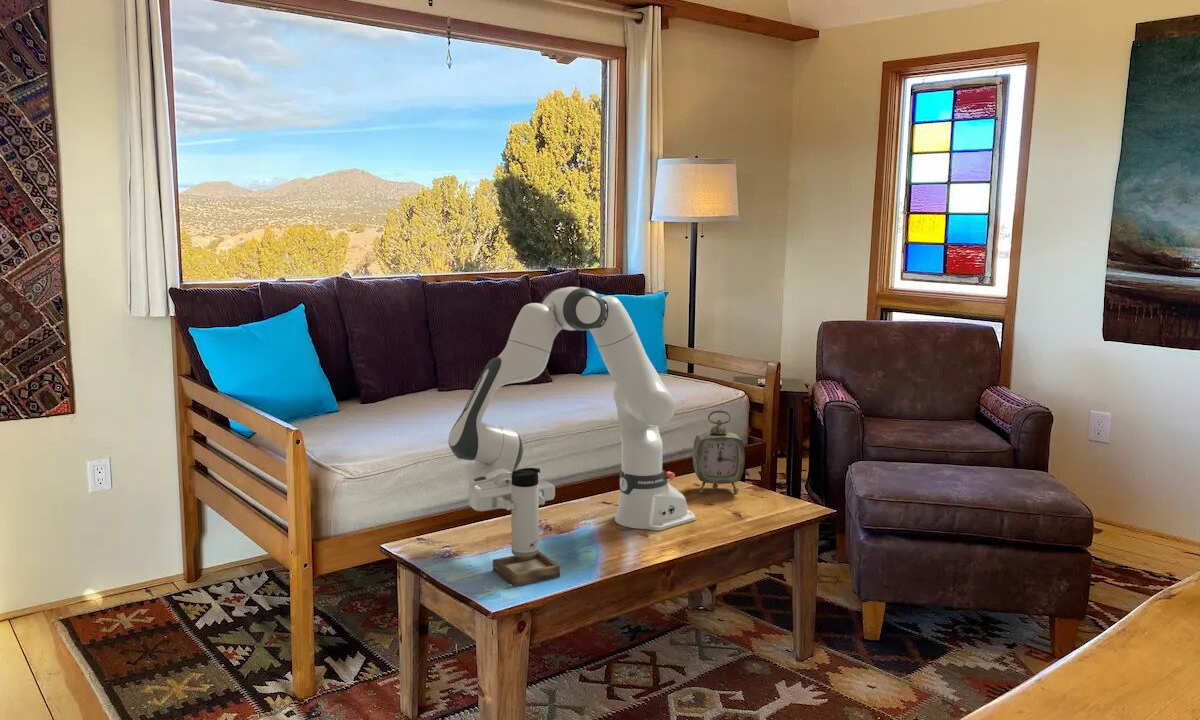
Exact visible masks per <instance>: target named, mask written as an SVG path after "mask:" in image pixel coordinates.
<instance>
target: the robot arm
mask: <svg viewBox="0 0 1200 720" xmlns="http://www.w3.org/2000/svg"><path fill="white" fill-rule="evenodd" d="M562 330H565V331H581V332H583V331H589V332H590V333H591V335H592V337H593V339H594V342H595V345H596V347H597V348H598V349H597V350H598V352H599V355H600V356H601V358H602V361H603V363H604V365H605V367H606V370H607V371H608V373H609V374H610V376H611V377H612V379H613V380H614V382H615V383H616V385H615V386H614V389H613V394H612V396H613V400H614V402H615V406H616V411H617V418H618V424H619V426H618V427H619V430H620V431H619V432H620V438H621V469H620V470H619V491H620V492H619V499H618V506H617V509H616V512H615V513H616V514H615V516H614V522H616V524H618V525H621V526H622V527H627V528H630V529H631V528H632V529H640V530H641V529H643V530H651V531H658V532H659V531H663V530H667V529H669V528H673V527H675V526H680V525H683V524H686V523H690V522H693V521H695V520H696V515H695V513H694V512H693V511H692V510H689V509H688V503H687V499H686V497H685V496H684V494H683V493H681V491H679V490H678V489H676V488H675V487H674V486H673V485H671V484H670V483H669V482H668V480H670V481H673V480H674V479H675V478H676V475H675V473H674V472H671V471H666V470H664V469H663V453H664V451H663V449H664V445H663V438H662V436H661V435H660V431H659V426H664V425H666V424H668V423H669V422H670V421H671V419H673V416H674V415H675V412H676V402H675V399H674V398H673V396H672V394H671V393H670V392H669V390H668V389H667V387H666V385H665V384H664V382H663V380H662V378H661V377H660V375H659V373H658V371H657V370H656V368H655V366H654V364H653V363H652V362H651V360H650V358H649V356H648V355H647V353H646V350H645V348H644V346H643V343H642V342H641V341H642V340H641V338H640V336H639V335H638V334H639V333H638V332H637V329H636V327H635V325H634V323H633V321H632V318H631V317H630V315H629V312H628V311H627V309H626V308H625V307H624V305H623V303H622V302H621V301H620V300H619V299H618V298H617V297H615V296H611V295H606V296H605V295H604V296H600V295H599V294H597V292H595V291H594V290H592V289H589V288H587V287H578V286H567V287H557V288H554V289H552V290H550V291H549V292H547V293H546V294H545V295H544V297H543V298H542V299H541V300H540V301H539V302H531V303H527V304H525V305H524V306H522V308H521V309H520V311H519V313H518V314H517V316H516V319H515V321H514V323H513V326H512V327H511V330H510V333H509V337H508V339H507V342H506V345H505V347H504V349H503V350H502V352H500V353H499V355H498V356H496V357H494V358H491V359H490V360H488V362H487V364H486V365H485V366H484V369H483V370H482V372H481V374H480V376H479V378H478V380H477V382H476V383H475V386H474V388H473V390H472V392H471V394H470V396H469V398H468V400H467V402H466V404H465V407H464V408H463V410H462V411H461V414H460V415H459V417H458V419H457V420H456V421H455V423H454V425H453V427H452V428H451V430H450V433H449V436H448V446H449V448H450V450H451V453H453V455H454V456H455V457H456V459H459V460H466V461H469V462H467V464H466V465H465V469H464V479H465V482H466V483H467V486H468V504H469V507H471V508H472V509H473V510H475V511H476V512H486V511H492V510H498V509H503V510H507V511H511V510H513V509H515V507H514V505H515V504H514V502H512V500H511V487H512V486H511V483H512V473H513V472H514V471H516V470H518V468H519V465H520V464H521V461H522V457H523V453H524V445H523V441H522V439H521V436H520V434H519V433H518V431H516V430H514V429H511V428H507V427H504V426H501V425H500V426H499V425H494V424H491V423H490V424H489V423H486V422H484V421H482V420H483V416H484V415H485V413H486V411H487V408H488V407H489V404H490V402H491V401H492V399H493V396H494V395H495V392H497V390H498V389H499V388H501V387H504V386H505V385H509V384H515V383H516V384H517V383H523V382H529V381H532V380H533V379H536V378H537V377H540V375H541V374H542V373H543V372H544V371H545V369H546V366H547V364H548V363H549V362H548V361H549V358H550V355H551V351H552V349H553V345H554V340H555V339H556V337H557V335H558V334H559V333H560V331H562ZM538 483H539V485H538V486H539V506H543V505H545V504H546V502H547V501H552V500H554V499H555V496H556V487H555V485H554V484H553V483H552V482H549V481H546V480H543V479H539V478H538Z"/></svg>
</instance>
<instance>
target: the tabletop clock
mask: <svg viewBox="0 0 1200 720" xmlns="http://www.w3.org/2000/svg"><path fill="white" fill-rule="evenodd" d="M717 413H718V414H719V413H721V414H722V413H723V414H726V415H727V416H728V417H729V418H728V419H727V420H725V421H722V420H721V419H717V421H713V420H712V419H710V417H711V416H712V415H714V414H717ZM731 419H732V416H731V414H730V413H729V412H728V411H726V410H713V411H711V412H710V413H709V414H708V416H707V420H708V422H710V423H711V424H714V425H713V426H712V427H711V429H710V431H705V432H701V433H697V434H696V436H695V439H694V442H693V447H692V448H693V449H692V465H693V470H694V473H695V475H696V477H697V479H699V481H700V482H701V483H702V485H701V487H700V488H699V487H698V493H700V494H703V493H704V491H705V490H704V487H705V485H706V484H712V488H713V489H714V490H715V489H716V490H717V489H718V488H719V485H722V484H731V485H732V487H733V492H734V493H735V494H736V493H739V491H740V489H739V487H736V484H735V483H737V482H740V481H741V479H742V477H743V474H744V471H745V462H746V457H745V446H744V442H743V440H742V439H741V438H740V437H739V436H738V434H735V433H734V432H731V431H730V432H729V431H728V429H727V428H726V427H725V426H724V425H725V424H727V423H729V422H730V421H731Z"/></svg>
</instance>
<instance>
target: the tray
mask: <svg viewBox="0 0 1200 720" xmlns="http://www.w3.org/2000/svg"><path fill="white" fill-rule="evenodd" d="M492 571H493V572H494V573H495V574H497V575H498V576H499V577H501V579H503V580H504V581H505V582H506V583H508V584H509V585H510V584H511V585H512V586H511V585H510V586H511V587H515V586H514V585H518V586H521V585H520V584H523V585H526V584H527V583H528V584H531V583H535V582H536V583H537V582H542V581H545V580H551V578H552V579H556V578H561V565H560V564H558V563H557V562H556V561H554V560H552V559H551V558H549V557H548V556H547V555H545V554H544V553H542V552H541V551H540V550H539V552H538V554H536V555H535V556H531V557H518V556H515V555H510V556H505V557H501V558H495V559H492Z"/></svg>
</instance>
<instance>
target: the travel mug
mask: <svg viewBox="0 0 1200 720" xmlns="http://www.w3.org/2000/svg"><path fill="white" fill-rule="evenodd" d="M539 474H541V468H540V467H536V468H535V467H525V468H519V469H516V470H515V471H514V472H513V473H512V483H511V486H512V487H511V500H512V502H514V504H515V505H514V507H515V509H513V510H510V511H511V527H510V528H511V553H512V556H518V557H531V556H535V555H536V554H538V552H539V551H540V549H539V545H540V542H539V541H540V540H539V538H540V537H539V533H540V532H539V528H540V525H539V524H540V522H539V521H540V520H539V519H540V518H539V513H540V511H539V506H540V505H539V486H538V485H539V483H538V479H539Z"/></svg>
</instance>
